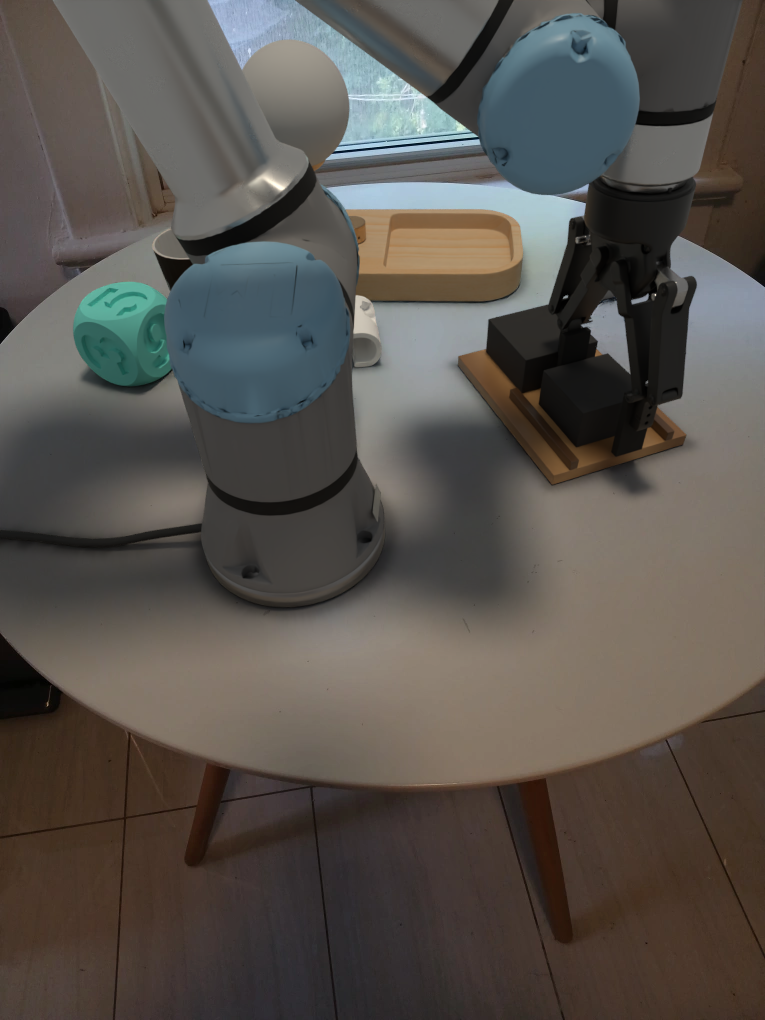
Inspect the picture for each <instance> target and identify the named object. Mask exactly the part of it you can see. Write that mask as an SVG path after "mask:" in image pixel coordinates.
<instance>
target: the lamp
mask: <svg viewBox="0 0 765 1020" xmlns="http://www.w3.org/2000/svg"><path fill="white" fill-rule="evenodd" d="M241 69H242V71H243V73H244V75H245V77H246V79H247V81H248V83H249V85H250V87H251V89H252V92H253V94H254V96H255V98H256V100H257V102H258V104H259V106H260V108H261V110H262V112H263V114H264V116H265V118H266V120H267V122H268V124H269V126H270V128H271V130H272V132H273V134H274V136H275V138H276V139H277V140H278V141H279V142H281V143H284V144H287V145H290V146H293V147H295V148H298V149H301V150H302V151H304V153H305V154H306V156H307V158H308V159H309V162H310V164H311V166H312V168H313V170H314V172H315V171H317V170H319V169H320V168H321V167H322V166H323V165H324V163H325V162H326V160H327V159H328V158H329V157H331V155H332V154H334V153H335V151H336V150H337V149H338V147H339V146H340V144H341V142H342V141H343V139H344V136H345V135H346V132H347V128H348V124H349V119H350V97H349V92H348V88H347V85H346V82H345V79H344V77H343V75H342V73H341V71H340V69H339V68H338V66H337V65H336V63H335V62H334V61H333V60H332V59H331V58H330V57H329V56H328V55H327V54H326V53H325V52H324V51H322V50H321V49H320V48H318V47H317V46H315V45H313V44H311V43H308V42H306V41H302V40H299V39H280V40H275V41H272V42H269V43H267V44H265V45H264V46H261V47H260V48H259V49H257V50H256V51H255V52H254V53H253V54H252V55H251V56H250V57H249V58H248V59H247V61H246V63H245V64H244V65H243V67H242V68H241ZM345 210H346V212H347V214H348V216H349V218H350V220H351V222H352V225H353V228H354V231H355V234H356V238H357V242H358V247H359V251H358V254H359V256H360V268H359V277H358V282H357V286H356V295H359V296H363V297H365V298H367V299H369V300H370V301H371V302H372V301H375V302H377V301H380V302H381V301H382V302H385V301H386V302H387V301H388V302H390V301H391V302H395V301H396V302H399V301H400V302H486V301H487V302H489V301H495V300H498V299H502V298H505V297H507V296H509V295H511V294H512V293H513V292H515V291H516V290H517V289H518V288H519V286H520V284H521V279H522V271H523V261H524V247H523V246H524V245H523V238H522V230H521V225H520V223H519V222H518V221H517V219H515V218H513V216H510V215H509V214H506V213H504V212H501V211H498V210H491V209H484V208H483V209H482V208H418V209H417V208H408V209H407V208H388V209H387V208H385V209H384V208H383V209H381V208H375V209H374V208H373V209H371V208H369V209H367V208H365V209H363V208H362V209H361V208H360V209H359V208H357V209H356V208H352V209H351V208H348V209H346V208H345Z"/></svg>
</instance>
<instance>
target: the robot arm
mask: <svg viewBox="0 0 765 1020" xmlns="http://www.w3.org/2000/svg"><path fill="white" fill-rule="evenodd" d="M294 1H295V2H296V3H298V4H299V5H300V6H302V7H303V8H305V9H306V10H307V11H309V12H310V13H312V14H313V15H314V16H315V17H316V18H318V19H319V20H321V21H322V22H324V23H325V24H326V25H328V26H329V27H331V28H332V29H333V30H334V31H336V32H337V33H339V34H340V35H341V36H343V37H344V38H345V39H347V40H348V41H349V42H350V43H352V44H353V45H355V46H356V47H358V48H359V49H360V50H361V51H363V52H364V53H366V54H367V55H368V56H370V57H371V58H373V60H375V61H377V62H378V63H379V64H380V65H382V66H384V68H386V69H387V70H389V71H390V72H392V73H393V74H394V75H396V76H397V77H398V78H400V79H401V80H402V81H404V82H405V83H407V84H408V85H409V86H410V87H412V88H413V89H415V90H416V91H418V92H419V93H420V94H422V95H423V96H424V97H426V98H427V99H428V100H429V101H431V102H432V103H433V104H435V105H436V107H438V108H439V109H440V110H442V112H444V113H445V114H447V115H448V116H449V117H451V118H452V119H453V120H455V121H456V122H457V123H459V124H460V125H461V126H462V127H464V128H465V129H467V130H468V131H470V132H471V133H472V134H474V135H475V136H477V138H478V140H479V144H480V147H481V149H482V151H483V153H484V154H485V155H486V157H487V158H488V160H489V162H490V163H491V164H492V165H493V166H494V167H495V170H496V171H497V172H498V173H499V175H500V176H501V177H502V178H503V179H505V180H506V182H508V183H509V184H510V185H512V186H514V187H515V188H517V189H519V190H521V191H523V192H526V193H529V194H532V195H539V196H557V195H565V194H568V193H571V192H574V191H576V190H579V189H582V188H584V187H585V186H587V193H586V199H585V206H584V213H583V215H579V216H574V217H571V218H569V221H568V231H567V243H566V245H565V249H564V253H563V256H562V259H561V263H560V266H559V269H558V272H557V274H556V279H555V282H554V285H553V288H552V292H551V295H550V298H549V301H548V303H547V305H548V310H549V312H550V314H552V315H553V314H556V315H557V317H558V319H557V325H558V327H559V329H560V336H559V345H558V361H557V367H558V366H562V365H566V364H569V363H573V362H577V361H581V360H584V359H586V358H587V352H588V346H589V341H590V335H592V334H591V333H592V329H591V328H589V327H588V326H583V325H587V324H590V323H592V322H593V319H592V317H591V316H592V315H593V314H594V312H595V310H596V309H597V308H598V306H599V305H600V304H601V302H602V301H603V300H602V299H603V298H604V296H605V295H606V293H607V292H608V290H610V291H611V292H612V294H613V295H614V296H615V297H614V298H615V299H616V307H617V313H618V315H619V316H620V317H622V318H623V320H624V327H625V329H624V331H625V337H626V338H625V339H626V346H627V347H626V348H627V357H628V365H629V374H630V376H631V385H632V390H631V391H627V392H624V397H623V401H622V406H621V410H620V414H619V419H618V423H617V428H616V432H615V437H614V441H613V446H612V450H611V453H612V454H613V455H614V456H615V457H618V456H621V455H624V454H628V453H631V452H634V451H637V450H641V449H642V447H643V443H644V439H645V435H646V432H647V428H650V427H651V426H652V424H653V421H654V418H655V414H656V410H657V407H659V406H660V405H664V404H666V403H670V402H674V401H677V400H680V399H682V398H683V395H684V382H685V381H684V380H685V367H686V358H687V357H686V356H687V355H686V354H687V345H688V344H687V343H688V342H687V341H688V329H689V318H690V307H691V305H692V302H693V299H694V297H695V294H696V291H697V288H698V282H697V279H696V278H695V276H694V275H688V276H684V277H681V276H679V274H677V273H676V272H675V271H674V270H672V260H671V259H672V258H671V248H672V245H673V244H674V242H675V240H676V239H677V238H678V237H679V236H680V235H681V234H682V233H683V232H684V230H685V228H686V227H687V223H688V220H689V216H690V212H691V208H692V203H693V200H694V195H695V191H696V187H697V182H696V180H695V178H694V176H696V175H697V174H698V173H699V171H700V169H701V165H702V161H703V157H704V152H705V148H706V145H707V141H708V137H709V133H710V128H711V124H712V120H713V116H714V112H715V108H716V104H717V99H718V95H719V90H720V87H721V83H722V79H723V75H724V71H725V69H726V68H725V67H726V65H727V60H728V57H729V53H730V49H731V45H732V42H733V38H734V34H735V31H736V27H737V23H738V20H739V15H740V12H741V8H742V5H743V1H744V0H294ZM52 2H53V4H54V5H55V7H56V8H57V10H58V12H59V13H60V15H61V16H62V18H63V20H64V21H65V23H66V25H67V26H68V28H69V30H70V31H71V32H72V34H73V36H74V37H75V39H76V41H77V42H78V44H79V45H80V47H81V49H82V51H83V52H84V54H85V55H86V57H87V58H88V60H89V62H90V63H91V65H92V67H93V68H94V69H95V71H96V73H97V74H98V76H99V78H100V79H101V81H102V83H103V84H104V85H105V87H106V89H107V91H108V92H109V94H110V95H111V96H112V98H113V101H115V103H116V105H117V106H118V109H120V111H121V113H122V115H123V116H124V118H125V120H126V121H127V123H128V124H129V126H130V128H131V129H132V130H133V132H134V134H135V135H136V137H137V140H138V141H139V142H140V143H141V145H142V147H143V148H144V150H145V152H146V153H147V155H148V156H149V158H150V160H151V161H152V163H153V165H154V166H155V168H156V170H157V171H158V172H159V174H160V176H161V177H162V179H163V181H164V182H165V184H166V185H167V187H168V189H169V190H170V192H171V193H172V195H173V197H174V207H173V213H172V217H171V218H172V219H171V222H170V228H171V229H172V232H173V234H174V235H175V237H176V238H177V240H178V241H179V243H180V244H181V246H182V248H183V249H184V251H185V253H186V254H187V256H188V257H189V259H190V260H191V262H192V263H193V265H192V266H191V267H189V268H188V269H187V270H186V271H185V272H184V273H183V274H182V275H181V276H180V278H179V279H178V280H177V281H176V283H175V284H174V286H173V287H172V289H171V291H170V290H169V294H168V296H167V297H166V298H167V302H166V306H165V313H164V325H165V331H166V336H167V350H168V353H169V360H170V366H171V370H172V372H173V376H174V378H175V379H176V381H177V385H178V388H179V390H180V394H181V397H182V402H183V404H184V407H185V411H186V414H187V418H188V421H189V424H190V428H191V432H192V434H193V437H194V440H195V444H196V447H197V451H198V455H199V457H200V461H201V464H202V467H203V471H204V474H205V476H206V481H207V486H206V493H205V498H204V499H205V500H204V506H203V514H202V519H201V523H195V524H194V523H193V524H187V525H186V524H185V525H180V526H173V527H166V528H159V529H153V530H148V531H143V532H137V533H134V534H127V535H122V536H116V537H98V538H97V537H95V538H94V537H93V538H92V537H74V536H64V535H58V534H51V533H50V534H49V533H41V532H35V531H34V532H32V531H21V530H11V529H10V530H9V529H0V539H6V540H7V539H8V540H17V541H29V542H40V543H47V544H53V545H61V546H70V547H81V548H109V547H111V548H112V547H119V546H125V545H126V546H127V545H131V544H136V543H141V542H146V541H152V540H157V539H165V538H170V537H177V536H183V535H190V534H191V535H192V534H198V533H200V540H201V546H202V549H203V552H204V556H205V558H206V563H207V564H208V567H209V570H210V571H211V573H212V575H213V576H214V578H215V579H216V580H217V582H219V584H220V585H221V586H222V587H224V589H226V590H227V591H229V592H230V593H232V595H235V596H237V597H239V598H240V599H242V600H244V601H247V602H250V603H253V604H257V605H262V606H267V607H274V608H296V607H304V606H309V605H314V604H318V603H321V602H324V601H327V600H330V599H332V598H334V597H337V596H339V595H342V594H343V593H344V592H346V591H348V590H350V589H351V588H353V587H354V586H356V585H357V584H358V583H359V582H360V581H362V580H363V579H364V578H365V577H366V576H367V575H368V574H369V572H370V571H371V570H372V569H373V568H374V566H375V565H376V564H377V561H378V560H379V558H380V556H381V554H382V551H383V549H384V544H385V540H386V520H385V518H386V517H385V511H384V505H383V502H382V499H381V496H382V495H381V494H382V492H381V490H380V488H379V486H378V484H377V483H375V486H374V484H373V482H372V480H371V479H370V477H369V475H368V473H367V472H366V469H365V468H364V466H363V464H362V462H361V460H360V458H359V455H358V445H357V444H358V443H357V432H356V431H357V430H356V416H355V405H354V393H353V389H354V388H353V335H354V334H353V331H354V318H355V298H356V286H357V282H358V277H359V268H360V256H359V254H358V251H359V247H358V242H357V238H356V234H355V231H354V228H353V225H352V222H351V220H350V218H349V216H348V214H347V212H346V210H345V209H346V208H345V206H344V205H343V203H342V202H341V201H340V200H339V198H338V197H337V196H336V195H335V194H334V193H333V192H332V191H331V190H329V188H327V187H326V186H325V185H323V184H322V183H321V182H320V181H319V178H318V176H317V174H316V172H315V171H314V170H313V168H312V166H311V164H310V162H309V159H308V158H307V156H306V154H305V153H304V151H302V150H301V149H298V148H295V147H293V146H290V145H287V144H284V143H281V142H279V141H278V140H277V139H276V138H275V136H274V134H273V132H272V130H271V128H270V126H269V124H268V122H267V120H266V118H265V116H264V114H263V112H262V110H261V108H260V106H259V104H258V102H257V100H256V98H255V96H254V94H253V92H252V89H251V87H250V85H249V83H248V81H247V79H246V77H245V75H244V73H243V71H242V69H243V68H242V67H241V65H240V63H239V61H238V59H237V57H236V55H235V53H234V51H233V49H232V47H231V45H230V43H229V41H228V39H227V36H226V35H225V32H224V31H223V29H222V27H221V24H220V22H219V21H218V18H217V17H216V14H215V13H214V10H213V8H212V6H211V5H210V2H209V1H208V0H52ZM566 296H567V297H566ZM646 296H647V299H646V300H644V301H640V302H636V303H632V301H634V300H638V299H642V298H644V297H646ZM581 326H582V327H583V328H581Z"/></svg>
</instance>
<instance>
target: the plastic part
mask: <svg viewBox="0 0 765 1020" xmlns="http://www.w3.org/2000/svg"><path fill="white" fill-rule="evenodd" d="M353 334H354V335H353V355H352V362H353V366H354V368H362V367H363V368H364V367H365V368H366V367H371V366H374V365H375V364H376V363H377V362H378V361H379V360H380V359H381V356H382V354H383V348H382V347H383V346H382V341H381V337H380V336H381V335H380V331H379V326H378V325H377V318H376V311H375V307H374V305H373V303H372V301H370V300H369V299H367V298H365V297H363V296H359V295H356V298H355V318H354V331H353Z"/></svg>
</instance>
